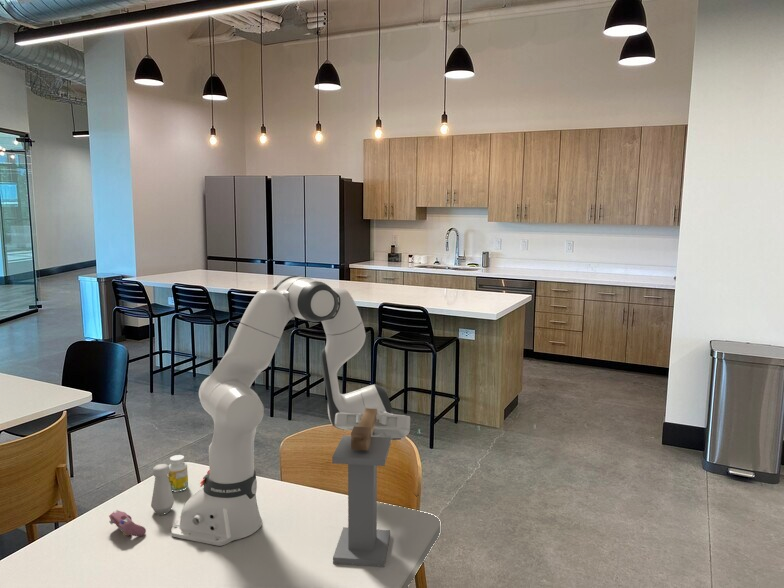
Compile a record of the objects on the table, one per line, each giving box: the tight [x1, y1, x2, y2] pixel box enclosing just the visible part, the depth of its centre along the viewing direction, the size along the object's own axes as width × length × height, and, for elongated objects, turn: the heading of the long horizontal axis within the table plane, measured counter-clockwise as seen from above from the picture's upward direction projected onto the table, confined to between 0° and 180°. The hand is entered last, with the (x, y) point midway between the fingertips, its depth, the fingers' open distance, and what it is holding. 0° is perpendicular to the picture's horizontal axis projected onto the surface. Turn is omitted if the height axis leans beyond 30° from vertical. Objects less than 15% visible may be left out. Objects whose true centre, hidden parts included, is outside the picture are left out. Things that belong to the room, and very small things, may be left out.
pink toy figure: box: [108, 509, 147, 537], centre depth 144 cm, size 10×5×7 cm, turn 48°
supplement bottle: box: [168, 454, 189, 491], centre depth 167 cm, size 5×5×10 cm
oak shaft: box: [350, 408, 377, 450], centre depth 139 cm, size 4×20×4 cm, turn 174°
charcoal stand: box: [331, 435, 392, 568], centre depth 136 cm, size 12×13×26 cm
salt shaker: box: [150, 463, 175, 515], centre depth 154 cm, size 6×6×13 cm
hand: (369, 417), depth 145 cm, fingers closed on oak shaft, 3 cm apart
